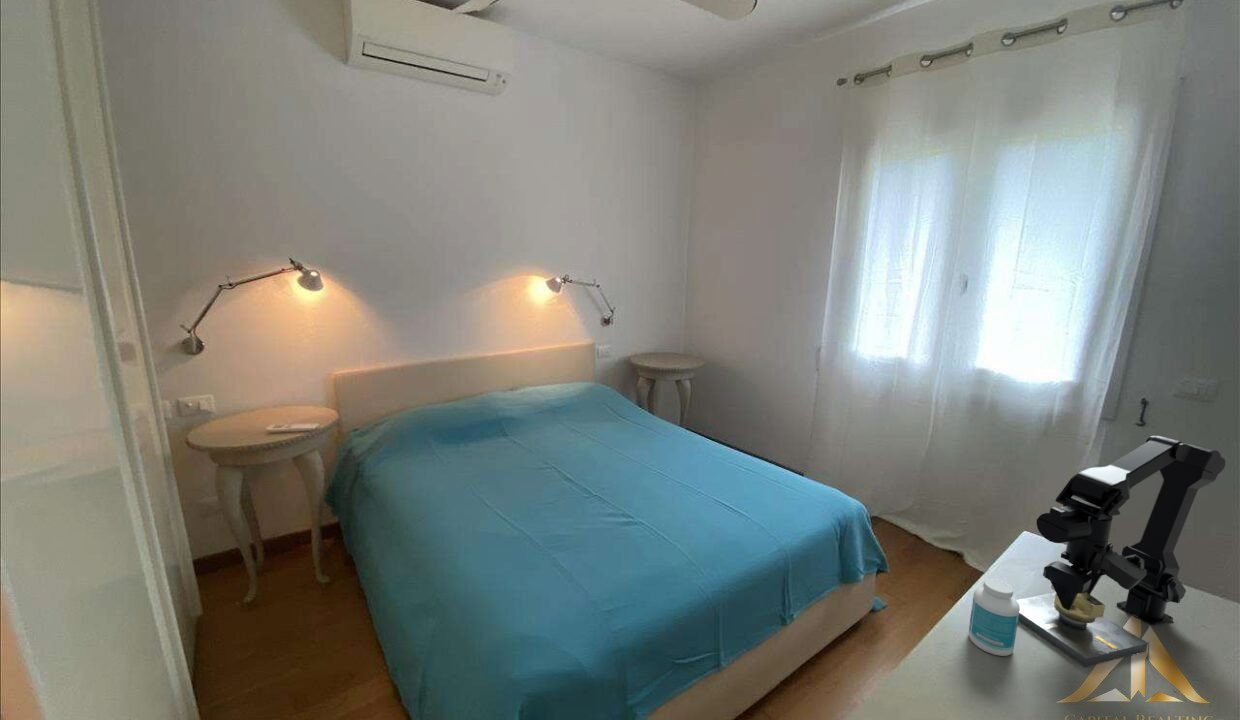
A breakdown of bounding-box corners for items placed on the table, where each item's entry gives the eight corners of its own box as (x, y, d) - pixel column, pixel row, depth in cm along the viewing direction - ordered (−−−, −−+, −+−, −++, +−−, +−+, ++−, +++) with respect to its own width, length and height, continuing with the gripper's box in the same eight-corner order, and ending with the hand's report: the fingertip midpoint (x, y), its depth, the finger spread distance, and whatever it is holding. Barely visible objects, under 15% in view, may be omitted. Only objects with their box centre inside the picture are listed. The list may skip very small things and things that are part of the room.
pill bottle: (1021, 660, 94) (1031, 600, 91) (979, 655, 95) (987, 595, 93) (1000, 632, 101) (1008, 575, 99) (960, 627, 103) (968, 572, 100)
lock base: (1058, 598, 111) (1061, 583, 110) (1146, 651, 96) (1150, 634, 95) (1003, 610, 108) (1005, 594, 107) (1084, 667, 92) (1088, 649, 91)
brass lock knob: (1040, 597, 105) (1044, 576, 104) (1069, 597, 105) (1073, 575, 104) (1078, 628, 96) (1083, 604, 95) (1110, 627, 96) (1115, 604, 95)
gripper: (1124, 569, 86) (1109, 644, 89) (1163, 541, 94) (1147, 610, 97) (1047, 539, 96) (1036, 607, 99) (1088, 516, 104) (1077, 579, 107)
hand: (1076, 601), depth 100 cm, fingers open, 9 cm apart
